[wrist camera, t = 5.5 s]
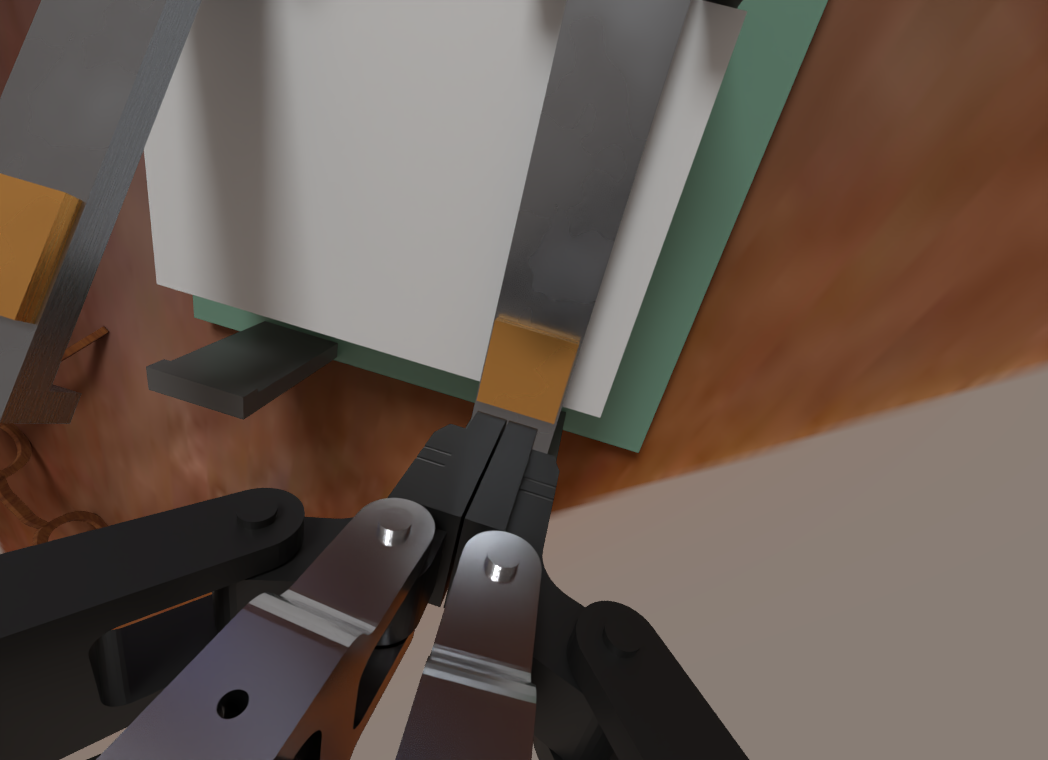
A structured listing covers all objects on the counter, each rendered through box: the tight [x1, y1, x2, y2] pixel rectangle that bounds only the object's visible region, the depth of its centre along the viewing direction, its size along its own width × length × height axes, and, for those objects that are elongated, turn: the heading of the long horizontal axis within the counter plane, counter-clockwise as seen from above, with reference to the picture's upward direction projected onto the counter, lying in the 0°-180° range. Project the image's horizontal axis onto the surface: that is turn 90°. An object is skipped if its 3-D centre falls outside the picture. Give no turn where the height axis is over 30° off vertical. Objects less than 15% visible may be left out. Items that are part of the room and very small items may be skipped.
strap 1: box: [0, 0, 202, 424], centre depth 12 cm, size 16×3×2 cm, turn 166°
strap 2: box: [471, 0, 691, 454], centre depth 15 cm, size 16×3×2 cm, turn 166°
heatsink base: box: [144, 0, 828, 461], centre depth 17 cm, size 20×24×8 cm
